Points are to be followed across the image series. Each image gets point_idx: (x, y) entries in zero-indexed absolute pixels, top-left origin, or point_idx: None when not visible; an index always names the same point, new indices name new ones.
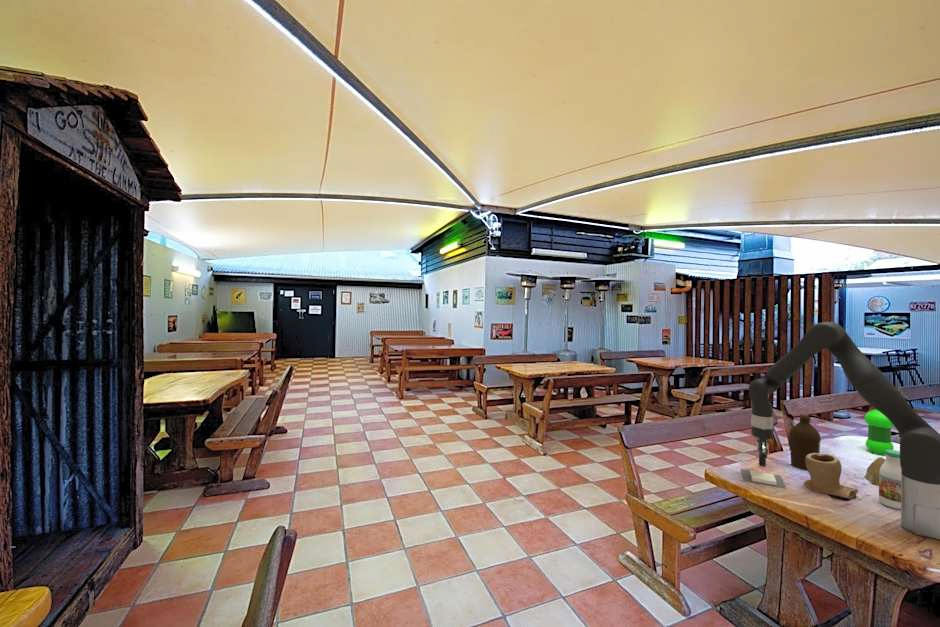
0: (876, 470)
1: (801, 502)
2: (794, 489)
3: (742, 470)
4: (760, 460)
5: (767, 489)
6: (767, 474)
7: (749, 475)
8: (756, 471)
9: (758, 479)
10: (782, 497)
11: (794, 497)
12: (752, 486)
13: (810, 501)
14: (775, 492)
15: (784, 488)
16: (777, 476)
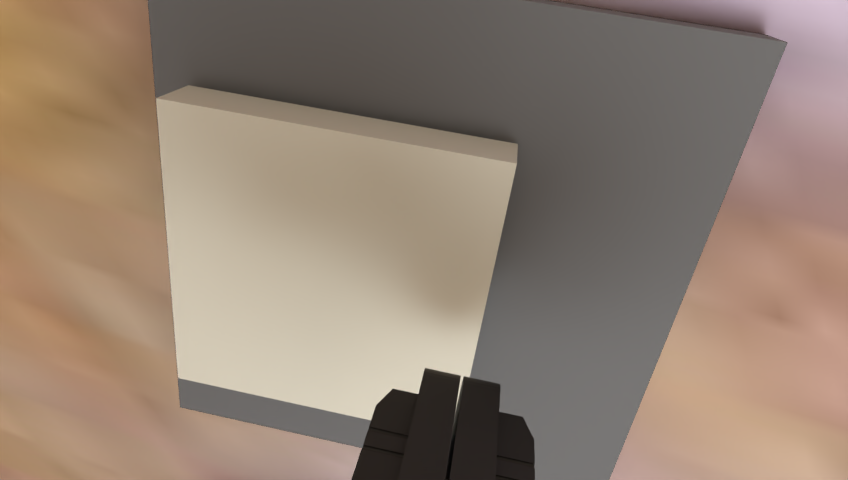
0: None
1: (20, 406)
2: (313, 470)
3: (689, 55)
4: (381, 474)
5: (157, 220)
6: (421, 368)
7: (456, 114)
8: (689, 278)
9: (171, 181)
10: (24, 296)
11: (100, 397)
12: (149, 58)
13: (94, 476)
14: (118, 276)
15: (181, 393)
16: (555, 462)
